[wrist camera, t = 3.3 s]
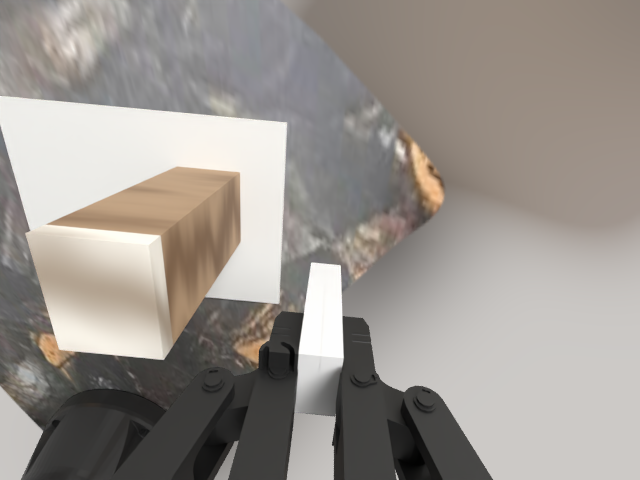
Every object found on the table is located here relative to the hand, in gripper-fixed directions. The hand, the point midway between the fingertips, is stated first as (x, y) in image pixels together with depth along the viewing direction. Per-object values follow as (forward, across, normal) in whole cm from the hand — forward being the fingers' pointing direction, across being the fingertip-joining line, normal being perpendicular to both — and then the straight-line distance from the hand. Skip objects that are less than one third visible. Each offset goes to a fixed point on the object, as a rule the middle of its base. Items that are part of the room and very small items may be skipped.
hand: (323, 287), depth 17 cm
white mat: (+11, +15, +1) cm, 19 cm away
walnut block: (+11, +10, 0) cm, 15 cm away
